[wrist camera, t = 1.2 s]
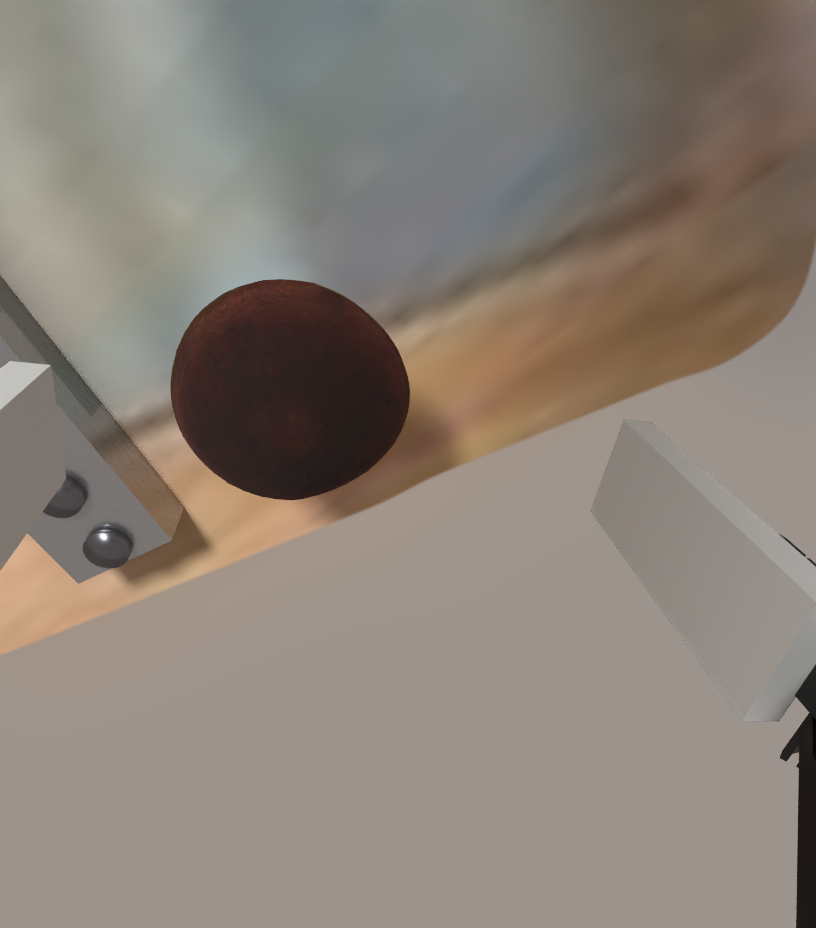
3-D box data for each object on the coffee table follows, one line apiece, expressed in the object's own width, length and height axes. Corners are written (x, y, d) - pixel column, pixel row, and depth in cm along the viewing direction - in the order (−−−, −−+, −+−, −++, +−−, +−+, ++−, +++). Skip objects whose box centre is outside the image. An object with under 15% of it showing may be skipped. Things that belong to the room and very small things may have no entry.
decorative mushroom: (247, 206, 33) (203, 252, 20) (415, 294, 37) (468, 380, 24) (183, 371, 38) (113, 497, 25) (340, 436, 41) (351, 575, 28)
